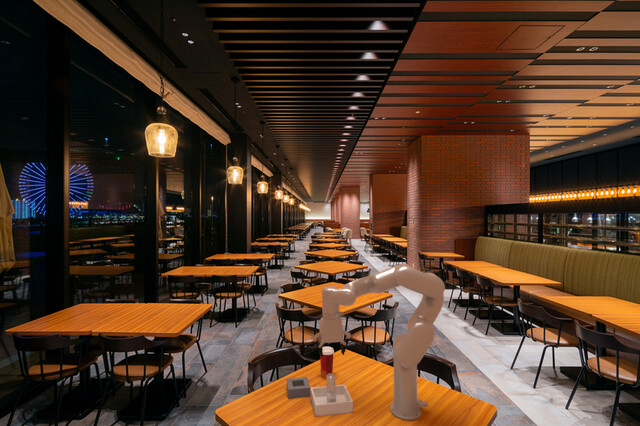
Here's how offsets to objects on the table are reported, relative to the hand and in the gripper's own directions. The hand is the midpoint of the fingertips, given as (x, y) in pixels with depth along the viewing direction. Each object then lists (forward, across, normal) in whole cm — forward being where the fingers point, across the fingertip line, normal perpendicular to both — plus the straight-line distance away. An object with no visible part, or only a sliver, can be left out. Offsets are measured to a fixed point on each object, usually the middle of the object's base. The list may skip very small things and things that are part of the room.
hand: (332, 354), depth 137 cm
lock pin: (+21, +1, 0) cm, 21 cm away
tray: (+22, +1, 0) cm, 22 cm away
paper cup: (+22, -2, -25) cm, 33 cm away
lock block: (+21, +14, -13) cm, 29 cm away
